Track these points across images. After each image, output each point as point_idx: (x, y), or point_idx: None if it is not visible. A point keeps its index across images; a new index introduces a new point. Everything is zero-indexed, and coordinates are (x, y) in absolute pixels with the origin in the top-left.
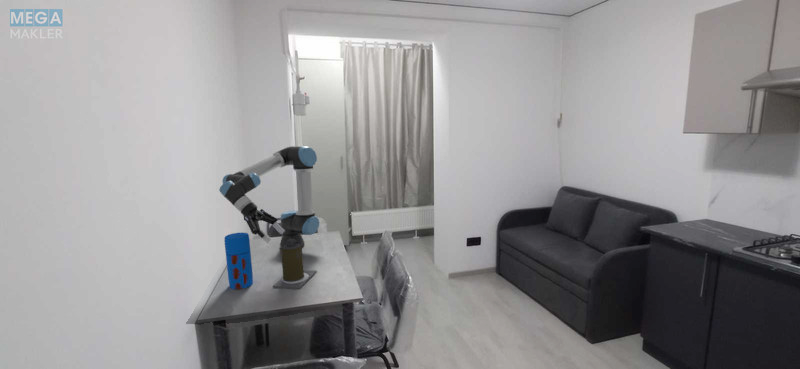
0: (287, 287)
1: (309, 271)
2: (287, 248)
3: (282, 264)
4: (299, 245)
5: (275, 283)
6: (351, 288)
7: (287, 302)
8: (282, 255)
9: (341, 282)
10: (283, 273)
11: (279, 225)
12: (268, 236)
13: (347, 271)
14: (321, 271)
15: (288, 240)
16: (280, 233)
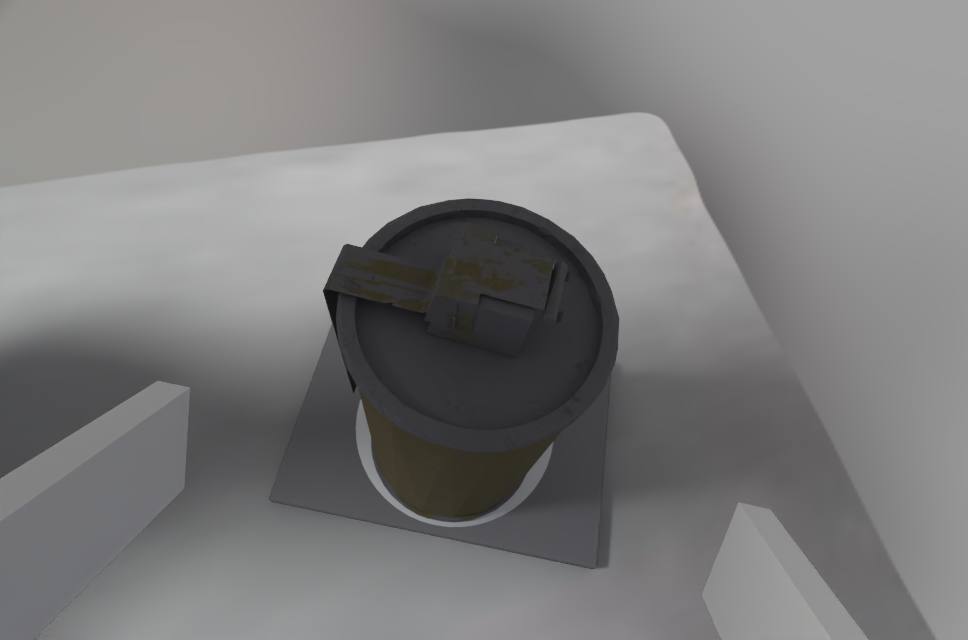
0: (604, 445)
1: None
2: (617, 324)
3: (513, 479)
4: (517, 214)
5: (553, 558)
6: (587, 126)
7: (777, 398)
8: (554, 438)
9: (518, 166)
10: (506, 491)
11: (16, 478)
12: (789, 560)
13: (367, 143)
14: None
15: (532, 291)
16: (167, 499)
